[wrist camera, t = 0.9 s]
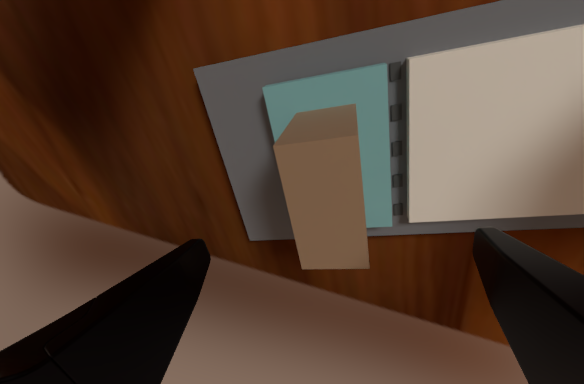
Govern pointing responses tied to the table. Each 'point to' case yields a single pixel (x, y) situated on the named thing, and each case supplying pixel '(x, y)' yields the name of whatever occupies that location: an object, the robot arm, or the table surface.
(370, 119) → the stub
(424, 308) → the table surface
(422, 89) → the board
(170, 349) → the robot arm
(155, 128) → the table surface
